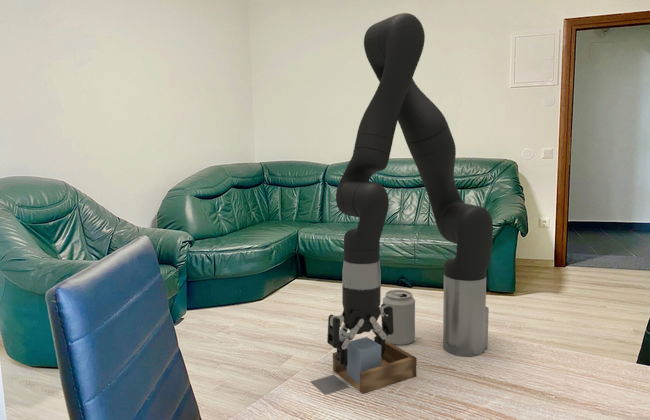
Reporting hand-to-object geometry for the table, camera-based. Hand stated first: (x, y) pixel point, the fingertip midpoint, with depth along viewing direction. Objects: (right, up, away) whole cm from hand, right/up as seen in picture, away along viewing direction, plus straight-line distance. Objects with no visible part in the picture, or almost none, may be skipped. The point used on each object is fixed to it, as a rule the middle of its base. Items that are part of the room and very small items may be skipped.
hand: (361, 360), depth 101 cm
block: (+1, -3, 0) cm, 4 cm away
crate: (+3, -4, +2) cm, 5 cm away
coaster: (-6, -5, -2) cm, 8 cm away
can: (+10, -1, +19) cm, 21 cm away
